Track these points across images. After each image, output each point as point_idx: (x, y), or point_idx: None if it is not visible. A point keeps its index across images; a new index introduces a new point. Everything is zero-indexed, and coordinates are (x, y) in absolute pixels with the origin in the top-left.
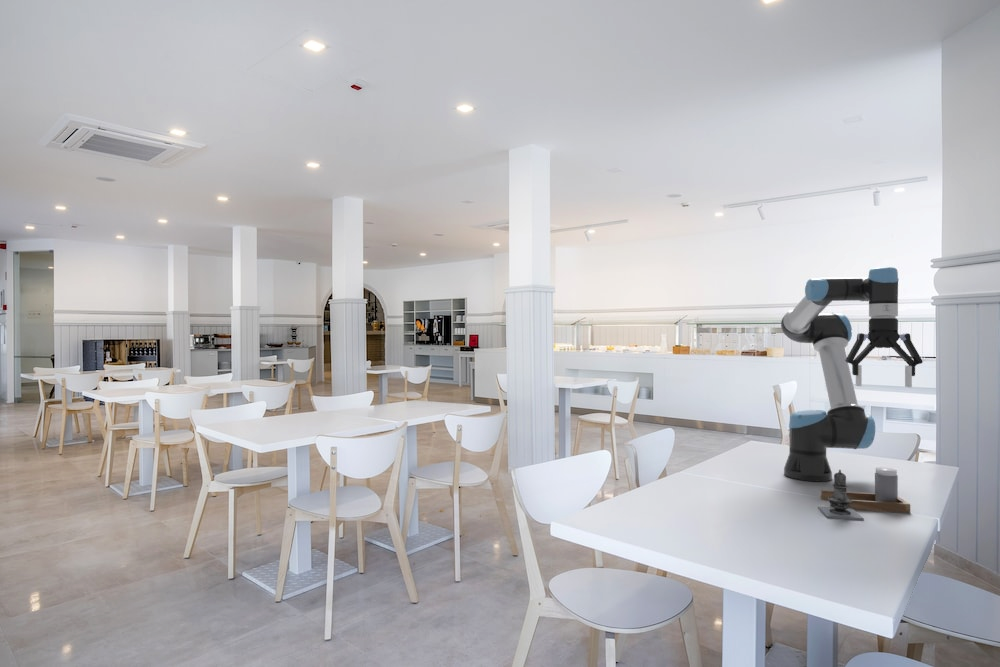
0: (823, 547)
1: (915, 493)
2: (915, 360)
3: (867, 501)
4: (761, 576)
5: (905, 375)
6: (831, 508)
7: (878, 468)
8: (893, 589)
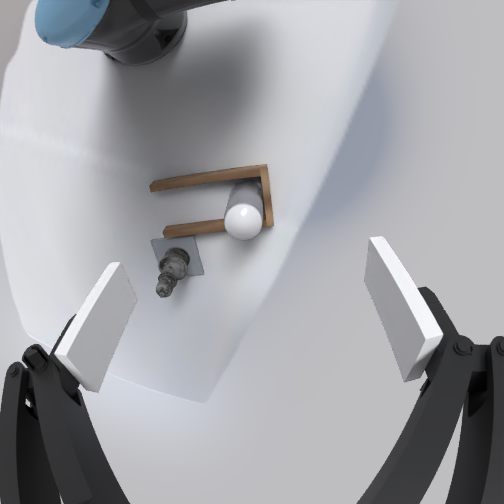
0: (167, 347)
1: (324, 82)
2: (473, 385)
3: (212, 230)
4: (143, 383)
5: (393, 287)
6: (167, 245)
7: (230, 218)
8: (209, 387)
